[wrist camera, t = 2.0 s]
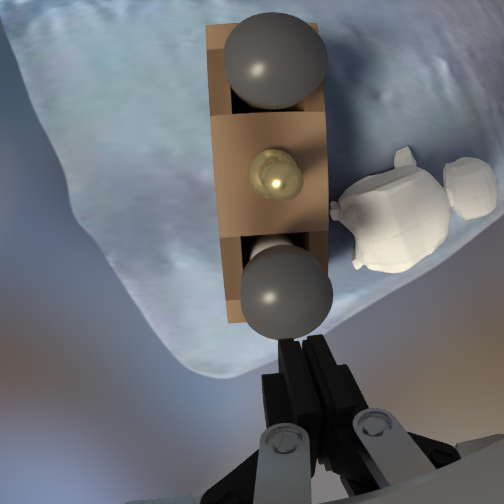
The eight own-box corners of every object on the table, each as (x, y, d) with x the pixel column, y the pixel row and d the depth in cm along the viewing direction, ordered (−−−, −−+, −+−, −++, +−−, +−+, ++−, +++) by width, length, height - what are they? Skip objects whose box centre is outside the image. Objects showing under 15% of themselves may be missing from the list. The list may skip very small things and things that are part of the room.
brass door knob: (295, 148, 19) (315, 148, 14) (297, 196, 20) (316, 212, 15) (245, 150, 19) (249, 150, 14) (249, 199, 19) (253, 215, 15)
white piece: (359, 251, 33) (484, 203, 26) (360, 297, 26) (518, 238, 19) (326, 179, 30) (460, 124, 23) (318, 208, 23) (496, 137, 16)
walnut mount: (295, 55, 24) (317, 23, 16) (304, 273, 30) (326, 314, 22) (213, 58, 23) (205, 25, 16) (229, 279, 30) (228, 323, 22)
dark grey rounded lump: (300, 215, 24) (334, 253, 15) (301, 274, 26) (330, 335, 17) (236, 219, 24) (236, 260, 15) (241, 279, 25) (244, 343, 17)
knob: (291, 59, 20) (322, 14, 12) (296, 120, 22) (331, 104, 13) (226, 61, 20) (221, 14, 12) (230, 123, 22) (225, 106, 13)
